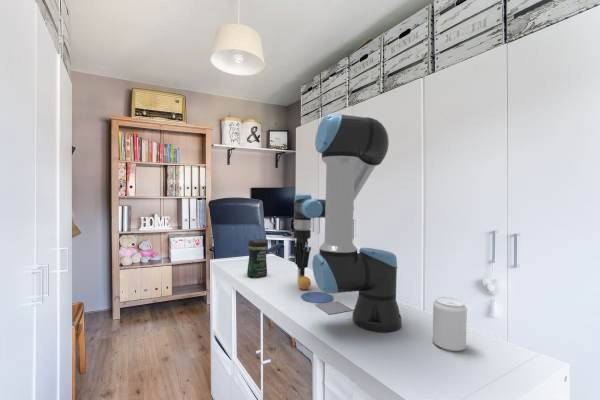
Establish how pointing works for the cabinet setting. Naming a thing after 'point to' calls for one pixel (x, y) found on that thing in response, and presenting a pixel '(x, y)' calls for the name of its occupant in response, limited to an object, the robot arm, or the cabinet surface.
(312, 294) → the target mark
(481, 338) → the cabinet surface
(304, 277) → the ball
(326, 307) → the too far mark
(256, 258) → the coffee jar
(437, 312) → the beverage can
